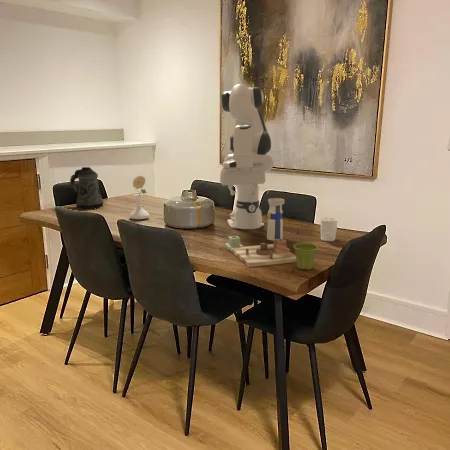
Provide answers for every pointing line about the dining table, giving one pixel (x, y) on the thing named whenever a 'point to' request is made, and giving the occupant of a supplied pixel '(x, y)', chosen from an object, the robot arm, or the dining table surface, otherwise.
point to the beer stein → (87, 189)
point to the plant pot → (305, 255)
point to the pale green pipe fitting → (233, 242)
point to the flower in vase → (139, 199)
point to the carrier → (265, 254)
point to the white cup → (328, 229)
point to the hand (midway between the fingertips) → (242, 194)
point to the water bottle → (275, 219)
